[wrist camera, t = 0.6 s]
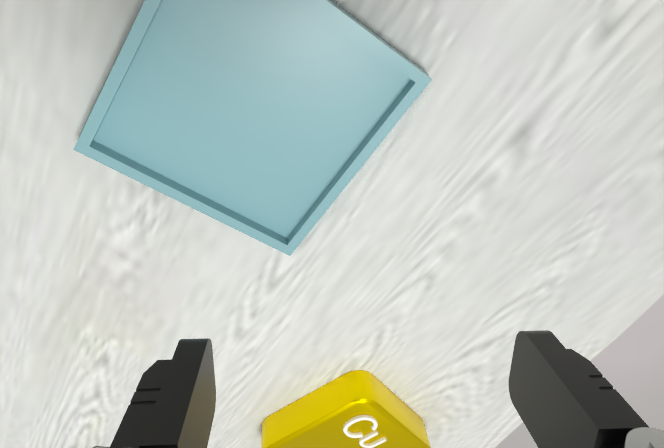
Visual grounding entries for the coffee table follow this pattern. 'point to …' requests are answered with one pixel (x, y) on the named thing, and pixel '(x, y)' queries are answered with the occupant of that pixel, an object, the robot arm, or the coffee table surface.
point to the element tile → (346, 418)
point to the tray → (250, 108)
